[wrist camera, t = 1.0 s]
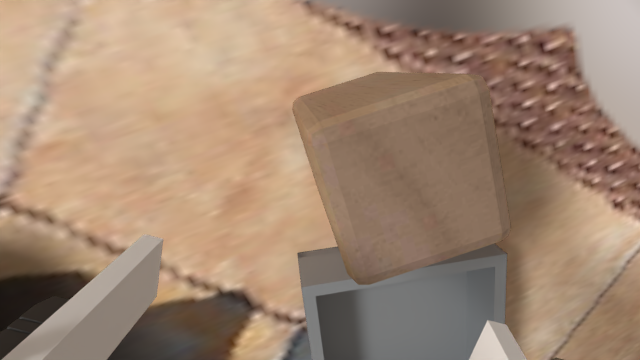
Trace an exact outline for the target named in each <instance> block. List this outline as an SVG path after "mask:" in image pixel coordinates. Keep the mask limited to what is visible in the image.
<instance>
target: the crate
mask: <svg viewBox="0 0 640 360" xmlns="http://www.w3.org/2000/svg"><path fill="white" fill-rule="evenodd" d="M298 262H299V271H300V279H301V288H302V295H303V302H304V308H305V315H306V322H307V329H308V335H309V342H310V349H311V356H312V360H469V358H470V356H471V354H472V352H473V350H474V348H475V346H476V344H477V342H478V339H479V337H480V335H481V333H482V331H483V329H484V327H485V325H486V323H487V320H490V321H494V322H498V323H502V324H505V301H506V271H507V253H505V252H504V251H503V250H502V249H500V248H499V247H498V246H497V245H495V244H491V245H488V246H485V247H482V248H479V249H476V250H473V251H470V252H467V253H464V254H461V255H458V256H455V257H452V258H449V259H446V260H443V261H440V262H437V263H434V264H431V265H428V266H425V267H422V268H419V269H416V270H413V271H410V272H407V273H404V274H400V275H397V276H394V277H391V278H388V279H385V280H382V281H379V282H376V283H373V284H370V285H358V284H357V283H356V282H355V281H354V280H353V279H352V278H351V277H350V276H349V275H348V274H347V271H346V268H345V265H344V262H343V259H342V257H341V254H340V251H339V248H338V247H332V248H326V249H320V250H313V251H307V252H300V253H298Z"/></svg>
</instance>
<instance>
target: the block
mask: <svg viewBox="0 0 640 360" xmlns="http://www.w3.org/2000/svg"><path fill="white" fill-rule="evenodd" d="M293 113H294V116H295V119H296V122H297V125H298V129H299V132H300V135H301V138H302V141H303V144H304V147H305V150H306V153H307V157H308V160H309V163H310V166H311V169H312V172H313V175H314V178H315V181H316V184H317V187H318V190H319V193H320V196H321V199H322V202H323V205H324V208H325V210H326V213H327V216H328V219H329V222H330V225H331V228H332V231H333V233H334V236H335V239H336V242H337V245H338V248H339V251H340V254H341V257H342V259H343V262H344V265H345V268H346V271H347V274H348V275H349V276H350V277H351V278H352V279H353V280H354V281H355V282H356V283H357V284H358V285H370V284H373V283H376V282H379V281H382V280H385V279H388V278H391V277H394V276H397V275H400V274H404V273H407V272H410V271H413V270H416V269H419V268H422V267H425V266H428V265H431V264H434V263H437V262H440V261H443V260H446V259H449V258H452V257H455V256H458V255H461V254H464V253H467V252H470V251H473V250H476V249H479V248H482V247H485V246H488V245H491V244H494V243H497V242H500V241H502V240H503V239H505V238H506V237H507V236H508V235H509V232H510V228H511V224H510V218H509V212H508V205H507V199H506V193H505V186H504V180H503V174H502V167H501V161H500V155H499V148H498V142H497V136H496V129H495V123H494V117H493V110H492V104H491V98H490V91H489V88H488V86H487V84H486V82H485V81H484V79H483V78H482V77H481V76H480V75H471V74H446V73H399V72H376V73H373V74H370V75H367V76H364V77H360V78H357V79H354V80H351V81H348V82H345V83H342V84H339V85H335V86H332V87H329V88H326V89H323V90H320V91H317V92H313V93H310V94H307V95H304V96H301V97H299V98H298V99H296V100H295V101H294V102H293Z"/></svg>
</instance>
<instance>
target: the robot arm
mask: <svg viewBox="0 0 640 360" xmlns="http://www.w3.org/2000/svg"><path fill="white" fill-rule="evenodd" d="M162 245H163V239H162V238H158V237H154V236H150V235H146V234H144V235H143V236H141V237H140V238H139V239H138V240H137V241H136V242H135V243H133V244H132V245H131V246H130V247H129V248H128V249H127V250H126V251H124V252H123V253H122V254H121V255H120V256H119V257H118V258H116V259H115V260H114V261H113V262H112V263H111V264H110V265H108V266H107V267H106V268H105V269H104V270H103V271H102V272H101V273H99V274H98V275H97V276H96V277H95V278H94V279H93V280H91V281H90V282H89V283H88V284H87V285H86V286H85V287H83V288H82V289H81V290H80V291H79V292H78V293H77V294H76V295H74V296H73V297H72V298H71V299H70V300H69V299H65V298H61V297H57V296H53V297H51V298H49V299H46V300H44V301H42V302H40V303H38V304H35V305H34V306H33V307H31V308H30V309H29V310H28V311H26V312H25V313H24V314H23V315H21V316H20V318H19V319H16V320H15V321H14V322H13V323H11V324H10V325H9V326H8V327H7V329H6V330H5V329H4V330H3V331H1V332H0V360H107V359H108V357H109V356H110V355H111V354H112V352H113V351H114V350H115V348H116V347H117V346H118V345H119V343H120V342H121V341H122V340H123V338H124V337H125V336H126V335H127V333H128V332H129V331H130V330H131V328H132V327H133V326H134V324H135V323H136V322H137V321H138V319H139V318H140V317H141V316H142V314H143V313H144V312H145V311H146V309H147V308H148V307H149V305H150V304H151V303H152V302H153V300H154V299H155V298H156V297H157V288H158V279H159V271H160V262H161V254H162ZM469 360H527V359H526V357H525V355H524V354H523V352H522V350H521V349H520V347H519V345H518V343H517V342H516V340H515V338H514V337H513V335H512V333H511V332H510V330H509V328H508V326H507V325H506V324H502V323H498V322H494V321H490V320H487V323H486V325H485V327H484V329H483V331H482V333H481V335H480V337H479V339H478V342H477V344H476V346H475V348H474V350H473V352H472V354H471V356H470V358H469Z"/></svg>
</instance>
